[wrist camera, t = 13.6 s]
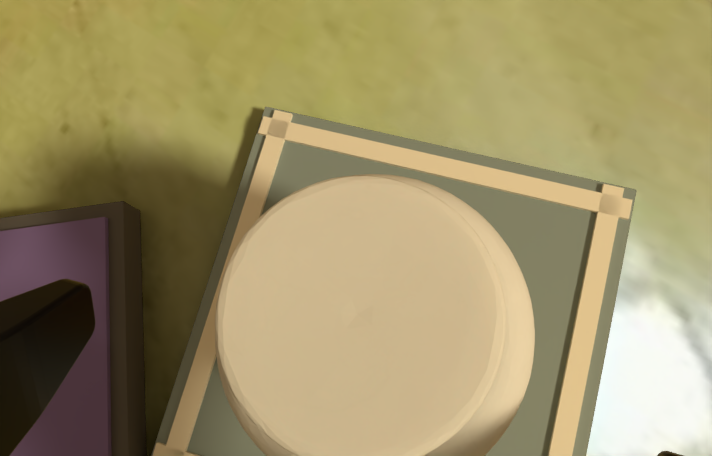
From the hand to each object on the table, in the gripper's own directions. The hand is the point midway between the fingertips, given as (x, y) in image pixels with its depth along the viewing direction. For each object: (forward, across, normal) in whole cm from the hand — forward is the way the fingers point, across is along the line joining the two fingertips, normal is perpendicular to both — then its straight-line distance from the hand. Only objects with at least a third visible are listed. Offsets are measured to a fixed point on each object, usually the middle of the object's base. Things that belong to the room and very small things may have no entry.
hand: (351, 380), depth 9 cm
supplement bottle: (+7, 0, +6) cm, 9 cm away
